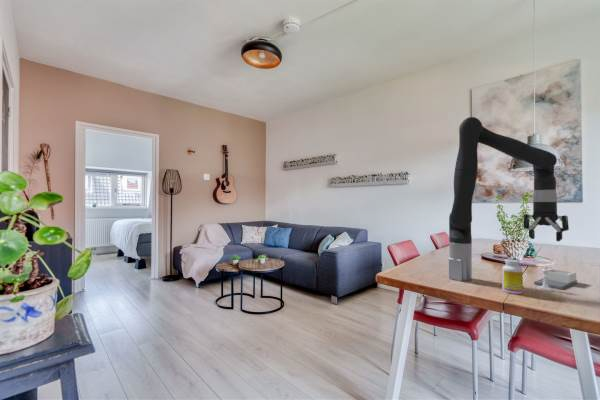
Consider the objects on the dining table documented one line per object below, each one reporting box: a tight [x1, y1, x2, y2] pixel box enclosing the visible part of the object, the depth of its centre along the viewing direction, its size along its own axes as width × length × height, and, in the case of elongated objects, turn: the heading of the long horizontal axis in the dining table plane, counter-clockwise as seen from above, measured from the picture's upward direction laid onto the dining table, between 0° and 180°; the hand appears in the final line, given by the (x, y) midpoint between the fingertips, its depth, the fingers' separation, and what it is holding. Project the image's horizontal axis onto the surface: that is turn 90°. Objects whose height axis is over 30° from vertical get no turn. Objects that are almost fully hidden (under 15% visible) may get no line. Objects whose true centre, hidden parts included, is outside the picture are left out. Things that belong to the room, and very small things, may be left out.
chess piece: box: [537, 265, 554, 293], centre depth 119 cm, size 5×5×10 cm
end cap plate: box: [533, 268, 578, 291], centre depth 128 cm, size 20×9×5 cm, turn 122°
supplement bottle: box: [501, 258, 524, 295], centre depth 116 cm, size 7×7×13 cm
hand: (545, 239), depth 119 cm, fingers open, 8 cm apart
